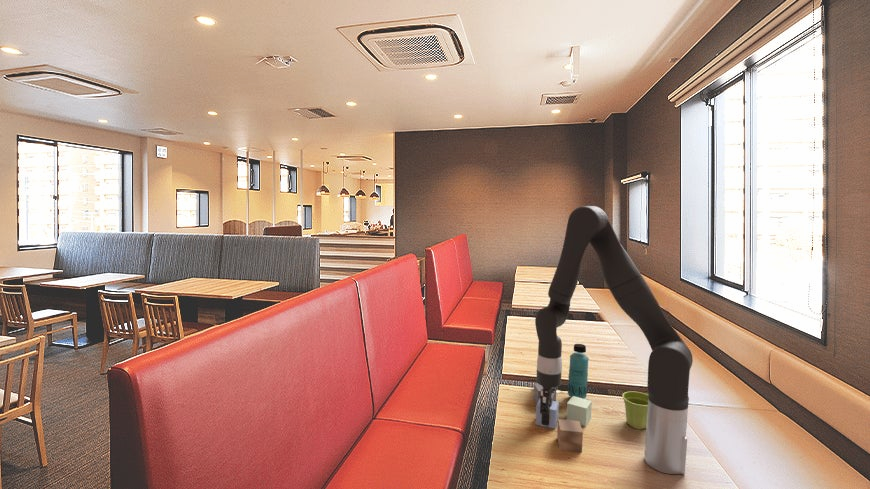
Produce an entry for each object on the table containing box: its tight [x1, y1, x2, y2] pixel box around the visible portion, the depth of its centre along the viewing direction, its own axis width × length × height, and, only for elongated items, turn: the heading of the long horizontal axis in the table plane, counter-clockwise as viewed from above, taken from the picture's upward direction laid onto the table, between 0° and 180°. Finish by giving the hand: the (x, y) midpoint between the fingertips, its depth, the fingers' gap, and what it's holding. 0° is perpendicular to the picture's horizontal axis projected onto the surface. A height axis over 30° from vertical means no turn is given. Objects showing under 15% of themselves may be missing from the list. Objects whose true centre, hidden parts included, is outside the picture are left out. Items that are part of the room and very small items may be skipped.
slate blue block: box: [535, 399, 560, 430], centre depth 131 cm, size 6×6×6 cm
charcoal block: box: [533, 382, 557, 406], centre depth 143 cm, size 6×6×6 cm
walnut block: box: [556, 418, 584, 453], centre depth 119 cm, size 6×6×6 cm
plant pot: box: [621, 390, 648, 430], centre depth 130 cm, size 9×9×9 cm
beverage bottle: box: [567, 343, 590, 399], centre depth 146 cm, size 6×7×20 cm
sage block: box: [566, 396, 593, 427], centre depth 133 cm, size 6×6×6 cm
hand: (547, 419), depth 132 cm, fingers closed on slate blue block, 6 cm apart
